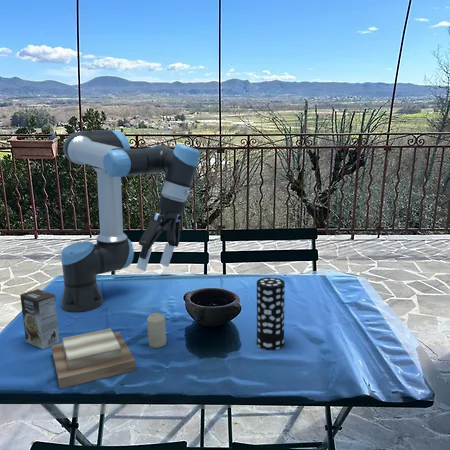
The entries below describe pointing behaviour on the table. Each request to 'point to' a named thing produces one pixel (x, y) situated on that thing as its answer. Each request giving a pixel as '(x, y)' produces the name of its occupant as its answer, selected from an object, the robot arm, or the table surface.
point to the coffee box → (40, 318)
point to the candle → (156, 330)
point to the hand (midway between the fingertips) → (153, 267)
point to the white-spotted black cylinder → (270, 313)
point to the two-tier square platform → (91, 357)
